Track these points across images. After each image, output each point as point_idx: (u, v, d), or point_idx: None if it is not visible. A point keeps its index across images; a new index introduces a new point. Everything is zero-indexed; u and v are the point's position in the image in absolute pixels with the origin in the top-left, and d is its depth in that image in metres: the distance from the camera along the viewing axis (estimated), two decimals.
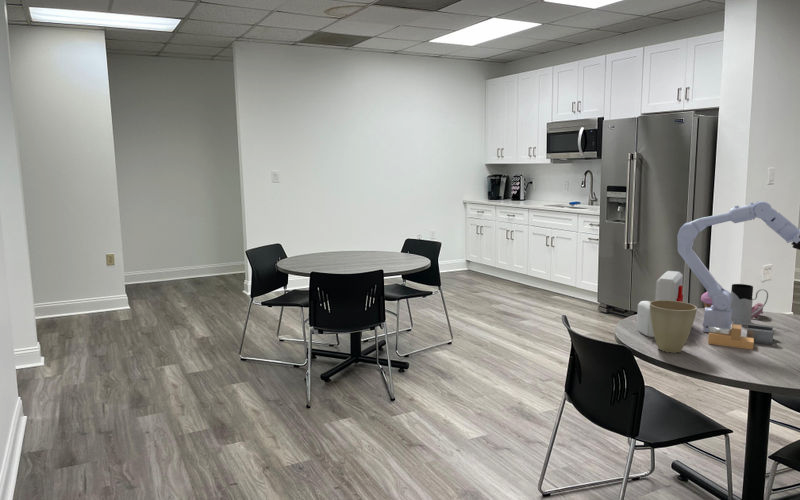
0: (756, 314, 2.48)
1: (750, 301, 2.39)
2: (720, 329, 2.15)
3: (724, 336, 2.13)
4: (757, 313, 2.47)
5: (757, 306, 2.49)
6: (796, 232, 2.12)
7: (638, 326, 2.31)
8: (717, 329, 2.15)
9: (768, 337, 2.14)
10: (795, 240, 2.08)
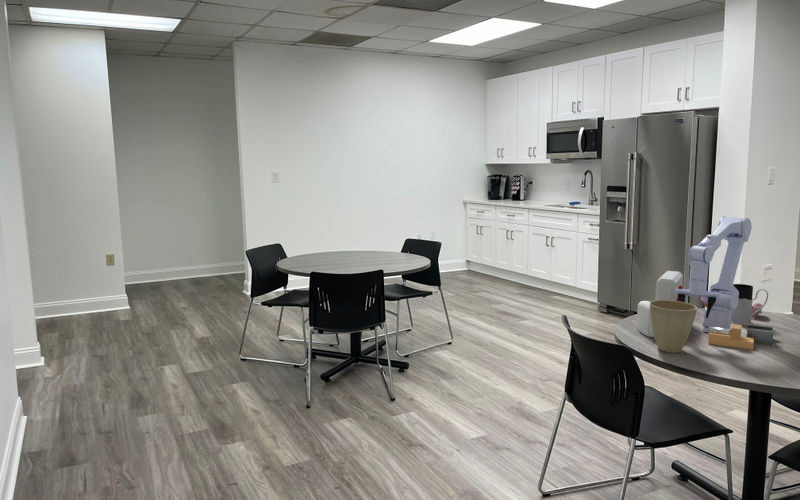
0: (755, 314, 2.48)
1: (750, 301, 2.39)
2: (720, 329, 2.15)
3: (724, 336, 2.13)
4: (756, 313, 2.47)
5: (756, 306, 2.49)
6: (689, 290, 2.16)
7: (638, 326, 2.31)
8: (717, 329, 2.15)
9: (768, 337, 2.14)
10: None
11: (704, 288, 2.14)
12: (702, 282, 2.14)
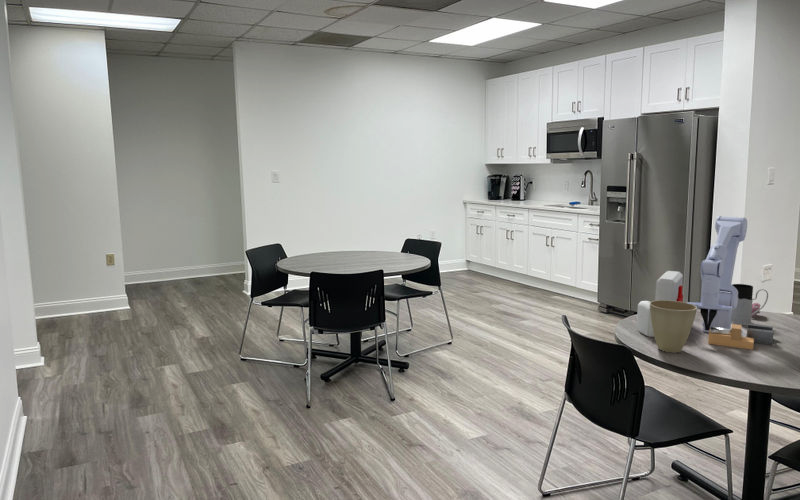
0: None
1: (750, 301, 2.39)
2: (721, 329, 2.15)
3: (724, 336, 2.13)
4: None
5: (754, 306, 2.49)
6: (701, 304, 2.16)
7: (638, 326, 2.31)
8: (718, 329, 2.15)
9: (768, 337, 2.14)
10: None
11: (716, 302, 2.14)
12: (713, 296, 2.13)
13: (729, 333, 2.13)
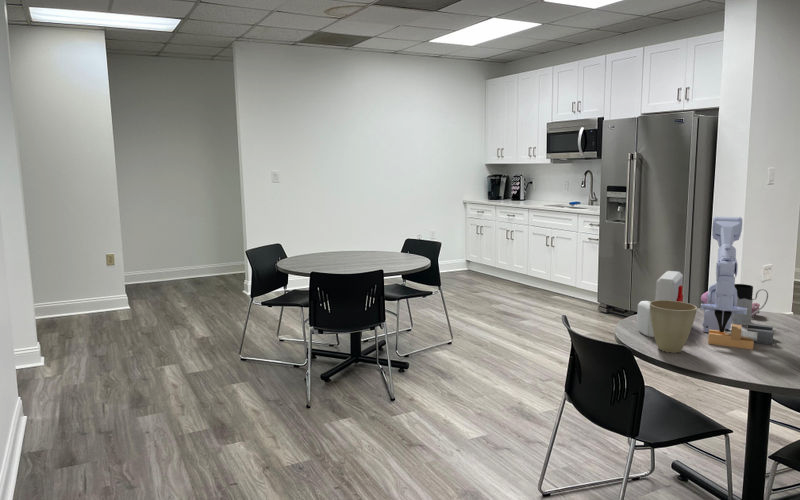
0: None
1: (750, 301, 2.39)
2: None
3: (724, 336, 2.13)
4: None
5: (753, 306, 2.49)
6: (715, 305, 2.14)
7: (638, 326, 2.31)
8: None
9: (768, 337, 2.14)
10: None
11: (730, 303, 2.11)
12: (728, 297, 2.11)
13: (744, 335, 2.11)
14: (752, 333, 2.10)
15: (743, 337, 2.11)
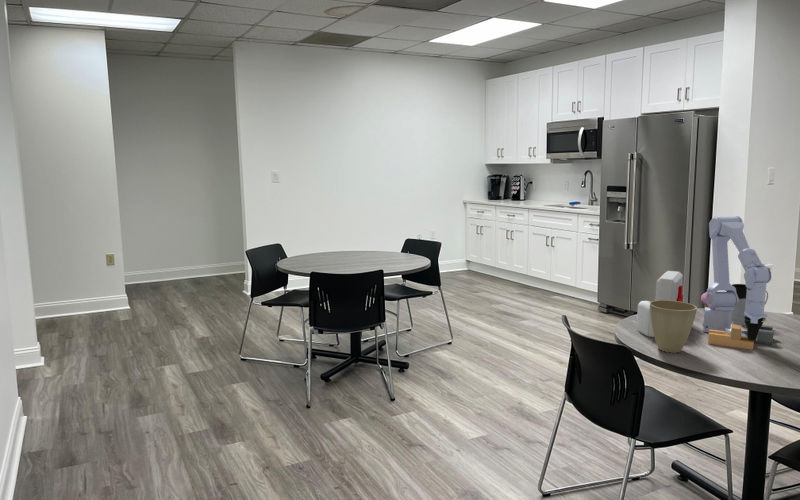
0: None
1: None
2: None
3: (724, 336, 2.13)
4: None
5: None
6: (759, 314, 2.07)
7: (638, 326, 2.31)
8: None
9: (768, 337, 2.14)
10: (752, 320, 2.04)
11: None
12: None
13: (744, 335, 2.11)
14: None
15: (743, 337, 2.11)
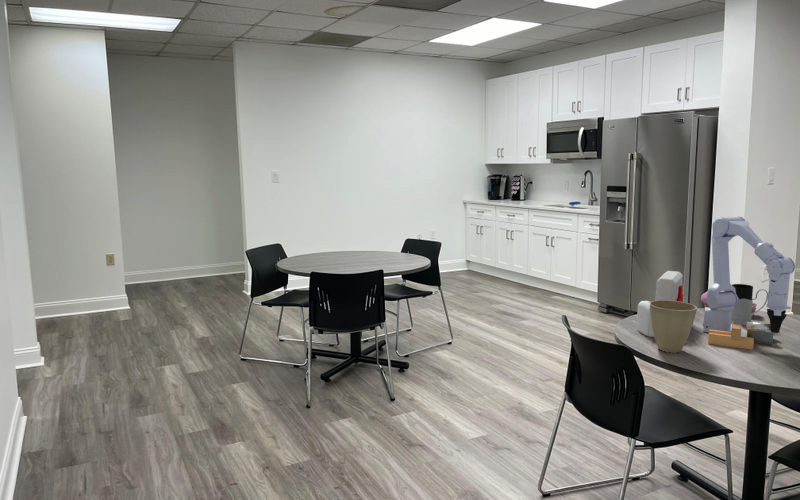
0: None
1: (750, 301, 2.39)
2: (758, 324, 2.09)
3: (724, 336, 2.13)
4: None
5: None
6: (782, 306, 2.03)
7: (638, 326, 2.31)
8: (755, 324, 2.09)
9: (768, 337, 2.14)
10: (776, 312, 2.00)
11: None
12: None
13: (766, 328, 2.07)
14: None
15: (765, 330, 2.08)
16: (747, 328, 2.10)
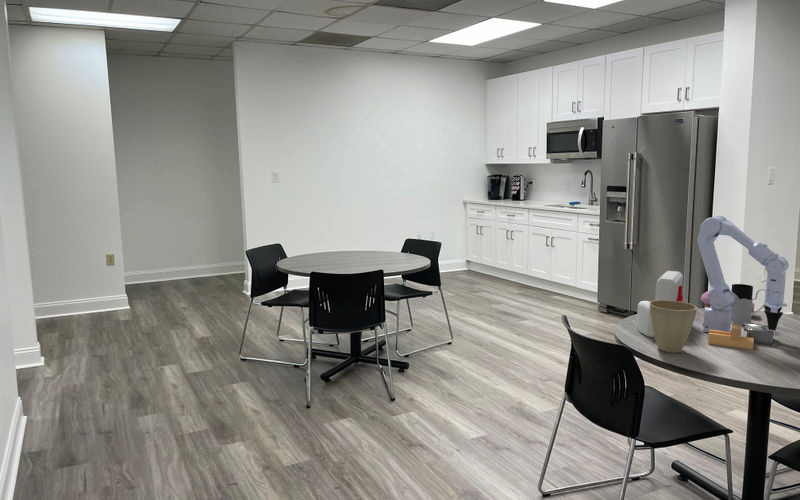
0: None
1: (750, 301, 2.39)
2: (755, 326, 2.19)
3: (724, 336, 2.13)
4: None
5: None
6: (779, 303, 2.13)
7: (638, 326, 2.31)
8: (752, 326, 2.19)
9: (768, 337, 2.14)
10: (772, 309, 2.10)
11: None
12: None
13: None
14: None
15: None
16: (745, 330, 2.21)
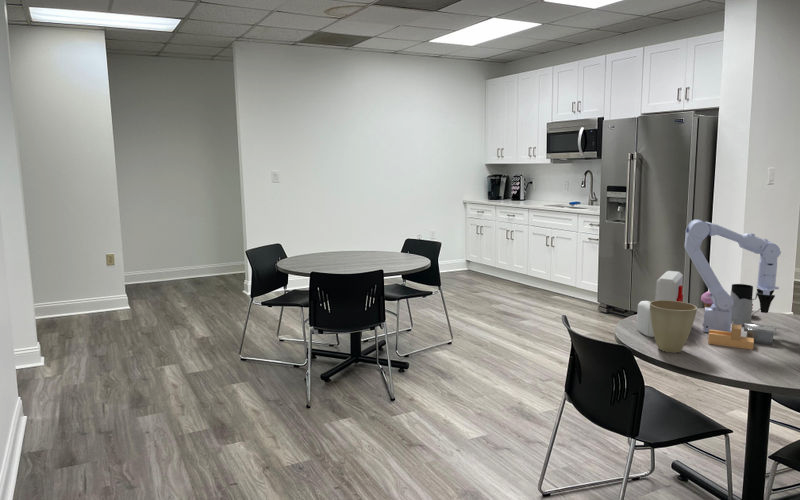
0: None
1: (750, 301, 2.39)
2: (755, 326, 2.19)
3: (724, 336, 2.13)
4: None
5: None
6: (771, 286, 2.21)
7: (638, 326, 2.31)
8: (752, 326, 2.19)
9: (768, 337, 2.14)
10: (765, 292, 2.18)
11: None
12: None
13: None
14: (771, 328, 2.17)
15: None
16: (745, 330, 2.21)
